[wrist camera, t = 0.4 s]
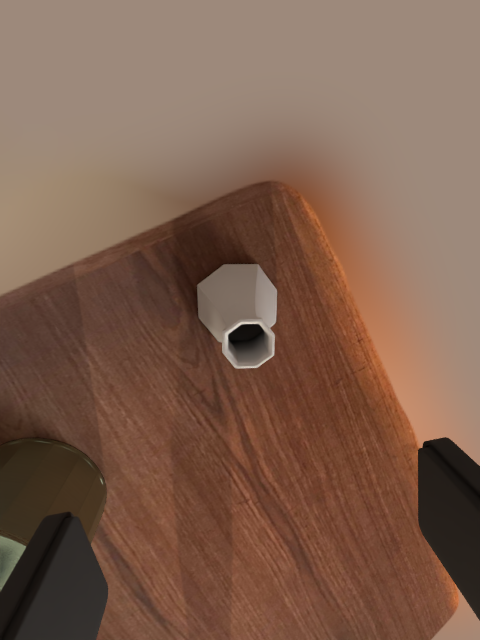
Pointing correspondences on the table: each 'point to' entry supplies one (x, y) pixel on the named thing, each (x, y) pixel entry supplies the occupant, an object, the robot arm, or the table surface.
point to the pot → (48, 485)
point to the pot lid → (10, 553)
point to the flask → (240, 312)
